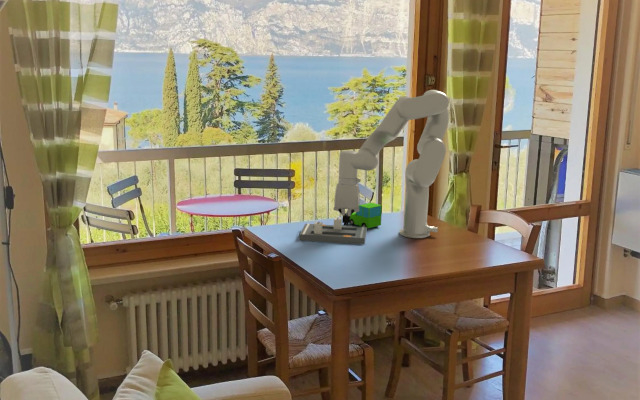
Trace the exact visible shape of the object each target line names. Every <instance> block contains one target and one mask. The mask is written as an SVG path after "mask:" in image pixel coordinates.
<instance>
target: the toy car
mask: <svg viewBox="0 0 640 400" xmlns="http://www.w3.org/2000/svg"><path fill="white" fill-rule="evenodd" d="M359 209H360V211H359V212H354V213H353V214H351V215H350V223H349V226H351V225H352V226H358V227H362V226H363V227H367V230H369V229H370V228H378V226H381V225H382V214H383V211H382V210H383V205H382V204H379V203H375V202H369V203H364V204H363V203H362V204H359Z"/></svg>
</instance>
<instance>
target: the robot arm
mask: <svg viewBox="0 0 640 400" xmlns="http://www.w3.org/2000/svg"><path fill="white" fill-rule="evenodd" d="M449 104H450V101H449V97H448V96H447V95H446V93H444V92H442V91H439V90H437V89H430V90H426V91H425V92H424V93H423V94H422V95H419V96H415V97H409V96H402V97H401V96H400V97H399V98H398V99H397V100H396V101H395V102H394V104H393V105H392V107H391V108H390V109H389V111H388V112H387V114H386V115H385V117H384V118H383V119H382V120H381V122H380V123H379V125H378V126H377V127H376V128H375V129H374V130H373V131H372V132H371V133H370V135H369V136H368V137H367V138H366V140H365V141H364V142H363V144H362V145H361V147H360V148H359V150H358V151H356V150H355V151H354V150H342V151H341V152H340V153H339V163H338V182H337V183H336V186H335V191H334V206H333V210H334V211H336V212H339V213H340V215H341V216H342V217H341V218H342V223H343V226H349V224H350V215H351V214H353V213H355V212H359V211H360V209H359V205H360V202H361V201H360V198H361V197H360V194H361V193H360V185H359V183H361V182H362V181H361V178H358V170H360V171H365V172H366V171H373V170H374V169H376V168H377V167H378V164H379V160H378V157H377V155H378V154H379V153H380V151H381V150H382V149H383V147H385V146H386V145H387V144H388V143H390V142H392V141H394V140H395V139H396V138H397V137H398V136H399V135H400V133H401V132H402V130H403V129H404V128H405V126H406V125H407V123H408V122H409V121H411V120H419V119H423V118H426V119H427V120H426V122H425V126H424V128H423V131H422V132H421V133H422V134H421V136H420V138H419V141H418V143H417V146H416V150H417V153H418V154H419V157H418V159H417V158H416V159H412V160H411V161H409V162H408V164H407V165H406V167H405V174H404V175H405V194H404V195H405V196H404V210H403V212H404V213H403V228H400V229H399V235H401V236H402V237H405V238H409V239H411V238H412V239H425V238H428V237H430V235H431V233H432V232H433V233H438V226H437V227H435V226H434V225H433V226H431V225H428V210H429V197H430V196H429V195H430V194H429V192H430V186H432V184H433V183H434V182H435V181H436V179H437V176H438V174H439V171H440V169H441V167H442V165H443V162H444V160H445V156H446V153H447V148H446V144H445V143H444V141H443V140H444V138H445V134H446V132H447V129H448V125H449V120H450V117H449V109H448V107H449ZM346 210H348V211H347V213H346Z"/></svg>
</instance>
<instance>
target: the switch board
mask: <svg viewBox="0 0 640 400" xmlns="http://www.w3.org/2000/svg"><path fill="white" fill-rule="evenodd" d="M367 232H368V229H367V227H363V226H356V225H354V226H351V225H348V226H346V225H342V226H341V230H338V229H334V224H332V225H331V224H323V226H322V234H314V223H309V222H308V223H305V224H304V226H303V227H302V229H301V231H300V233H299V240H298V241H305V242H306V241H307V242H322V243H338V244H339V243H340V244H356V245H365V244H366V239H367Z"/></svg>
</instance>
